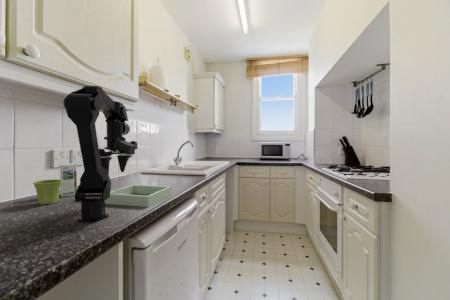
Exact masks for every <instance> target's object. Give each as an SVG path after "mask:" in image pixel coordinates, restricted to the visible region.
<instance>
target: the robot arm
mask: <svg viewBox="0 0 450 300" xmlns="http://www.w3.org/2000/svg"><path fill="white" fill-rule="evenodd" d="M62 102H63V107H64V109H65V111H66V115H67V117H68V119H69V120H70V121H71V122H72V123H73V124H74V125H75V128H76V131H77V138H78V141H79V148H80V154H81V158H82V164H83V173H82V174H81V177H80V178H79V185H78V186H77V191H76V194H75V195H74V199H75V200H74V201H75V202H80V205H81V206H80V207H81V209H80V211H81V217H79V218H76V221H78V222H88V223H96V222H99V221H100V220H101V221H102V220H103V219H105V218H108V217H109V215H110V214H107V213H106V204H105V200H106V199H108V198H109V197H110V191H112V190H111V189H112V181H111V178H110V161H111V160H112V159H113V157H112V155H116V157H117V160H118V166H119V170H120V173H124V172H125V170H126V166H127V164H128V161H129V159H130V158H131V157H134V155H136V152H135V151H136V150H138V147H139V146H138V141H135V140H131V141H126V138H125V136H126V135H127V134H129V132H130V130H131V129H130V125H129V124H128V121H129V118H128V114H127V109H126V107H125V105H124V103H122V102H121V101H115V100H114V99H113V98H111V97H110V96H109V95H108V94H107V93H106V92H105V91H104V89H103V87H102V86H99V85H85V86H82V87H81V88H79V89H77V90H74V91H72V92H70V93H68V94H67V96H65V97H64V98H63V101H62ZM100 109H101V110H102V114H103V116H104V117H105V120H104V121H105V123H106V136H104V137H103V138H104V139H103V140H106V146H105V147H104V148H100V147H99V142H98V137H97V130H96V129H97V128H96V122H97V119H98V117H99V115H100ZM126 122H127V123H126Z"/></svg>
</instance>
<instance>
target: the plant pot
mask: <svg viewBox="0 0 450 300" xmlns="http://www.w3.org/2000/svg"><path fill="white" fill-rule="evenodd" d="M61 182H62V180H60V179H44V180H38V181H34V182H32V185H34V188H35V191H36V195H37V201H38V205H42V206H45V205H46V204H51V205H53V204H55V203H58V202H59V198H60V197H59V196H60V185H61Z"/></svg>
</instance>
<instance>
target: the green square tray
mask: <svg viewBox="0 0 450 300" xmlns="http://www.w3.org/2000/svg"><path fill="white" fill-rule="evenodd" d="M172 190H173V189H172V186H166V185H165V186H163V185H162V186H161V185H145V184H131V185H128V186H124V187H121V188H117V189H114V190H110V197H109V198H108V199H106V200H105V205H117V206H128V207H129V206H131V207H139V208H140V207H143V208H150V207H151V206H153V205H155V204H157V203H160V202H162V201H164V200H165V199H167V198H169V197H171V196H172V193H173V192H172Z"/></svg>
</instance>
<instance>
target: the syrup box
mask: <svg viewBox="0 0 450 300" xmlns="http://www.w3.org/2000/svg"><path fill="white" fill-rule="evenodd" d="M59 180H62V182H61V185H60V190H59V192H60V196H61V198H64V197H71V196H75V194H76V191H77V189H78V186H77V185H78V183H77V163H72V162H71V163H60V164H59Z"/></svg>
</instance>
